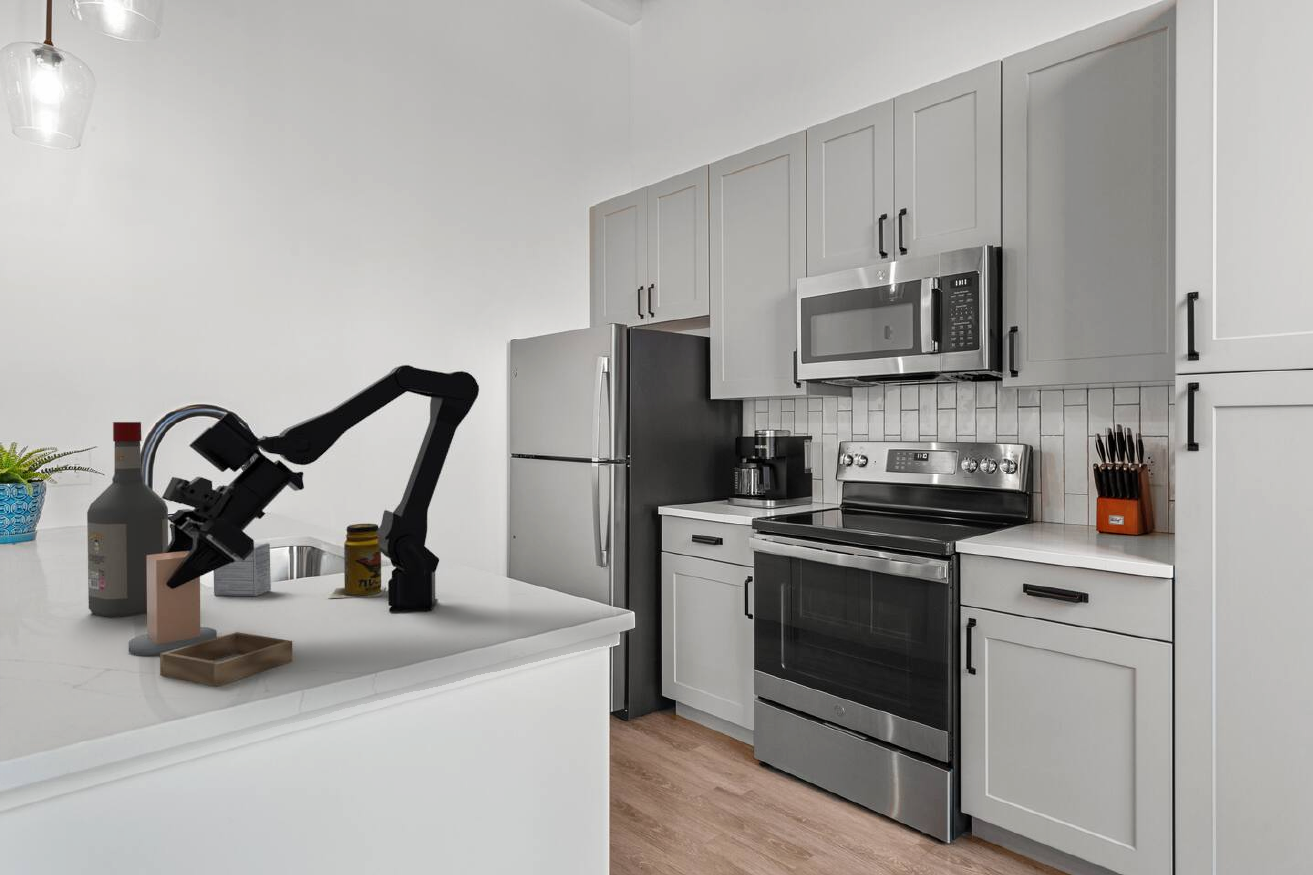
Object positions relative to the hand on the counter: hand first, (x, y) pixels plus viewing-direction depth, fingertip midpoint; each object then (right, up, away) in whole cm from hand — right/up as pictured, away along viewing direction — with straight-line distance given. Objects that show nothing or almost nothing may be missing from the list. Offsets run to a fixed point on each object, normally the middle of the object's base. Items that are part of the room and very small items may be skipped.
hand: (161, 582), depth 100 cm
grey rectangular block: (-6, -8, +31) cm, 33 cm away
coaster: (+1, -9, +1) cm, 9 cm away
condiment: (+14, -8, +32) cm, 36 cm away
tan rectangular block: (+1, -7, +1) cm, 8 cm away
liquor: (-18, -8, +20) cm, 28 cm away
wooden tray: (+14, -9, -9) cm, 18 cm away
